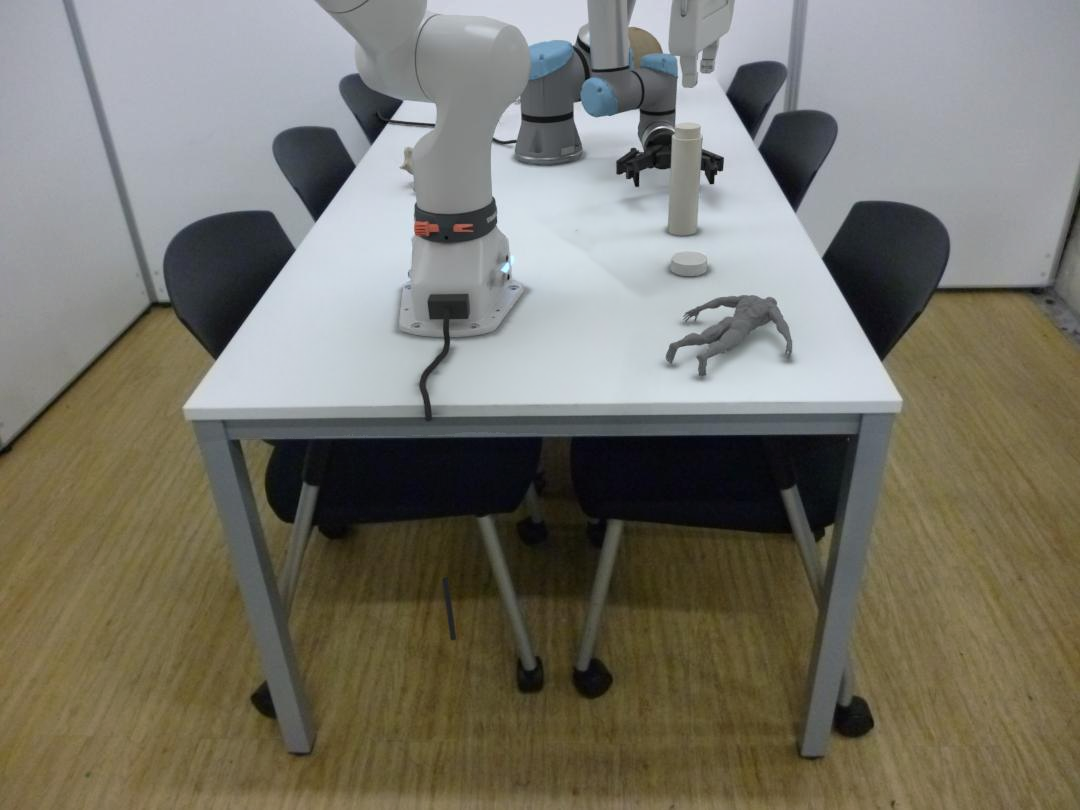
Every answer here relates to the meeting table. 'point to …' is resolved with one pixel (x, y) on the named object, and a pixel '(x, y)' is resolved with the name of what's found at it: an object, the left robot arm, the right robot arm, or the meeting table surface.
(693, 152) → the jar
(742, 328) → the figurine
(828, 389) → the meeting table surface
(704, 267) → the lid
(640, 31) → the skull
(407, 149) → the bone
